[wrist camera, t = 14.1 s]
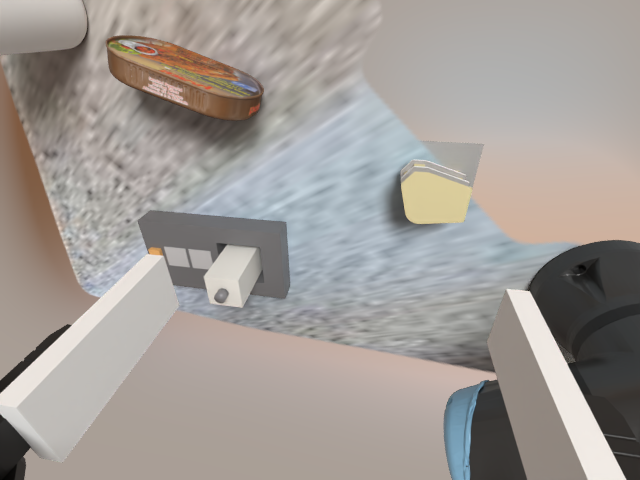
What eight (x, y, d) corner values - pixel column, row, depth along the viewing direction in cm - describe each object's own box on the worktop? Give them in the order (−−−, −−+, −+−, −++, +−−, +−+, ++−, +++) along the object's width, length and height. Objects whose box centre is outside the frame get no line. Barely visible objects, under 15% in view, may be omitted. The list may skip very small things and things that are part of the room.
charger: (261, 240, 48) (234, 287, 40) (264, 265, 51) (239, 314, 42) (232, 237, 49) (199, 282, 41) (236, 262, 51) (205, 310, 43)
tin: (274, 83, 37) (247, 98, 30) (267, 112, 39) (240, 132, 32) (141, 30, 36) (82, 33, 29) (141, 62, 38) (84, 71, 31)
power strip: (286, 222, 46) (278, 236, 43) (290, 285, 52) (284, 301, 49) (150, 210, 49) (134, 222, 46) (168, 271, 55) (156, 285, 52)
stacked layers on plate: (484, 143, 37) (497, 161, 32) (464, 217, 42) (473, 241, 37) (389, 138, 38) (389, 154, 34) (381, 210, 43) (380, 232, 38)
